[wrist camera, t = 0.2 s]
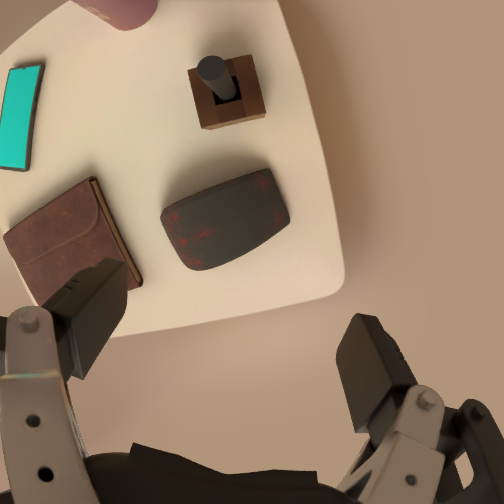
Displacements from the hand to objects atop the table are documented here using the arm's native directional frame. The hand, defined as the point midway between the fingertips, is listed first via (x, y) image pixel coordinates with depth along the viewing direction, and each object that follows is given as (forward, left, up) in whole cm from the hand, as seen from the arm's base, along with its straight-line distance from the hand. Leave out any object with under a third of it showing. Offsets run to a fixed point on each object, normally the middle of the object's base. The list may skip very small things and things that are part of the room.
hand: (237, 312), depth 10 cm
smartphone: (+12, -32, -24) cm, 42 cm away
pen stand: (-6, -8, -24) cm, 26 cm away
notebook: (+23, -14, -24) cm, 36 cm away
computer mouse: (+4, 0, -24) cm, 25 cm away
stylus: (-6, -8, -24) cm, 26 cm away
